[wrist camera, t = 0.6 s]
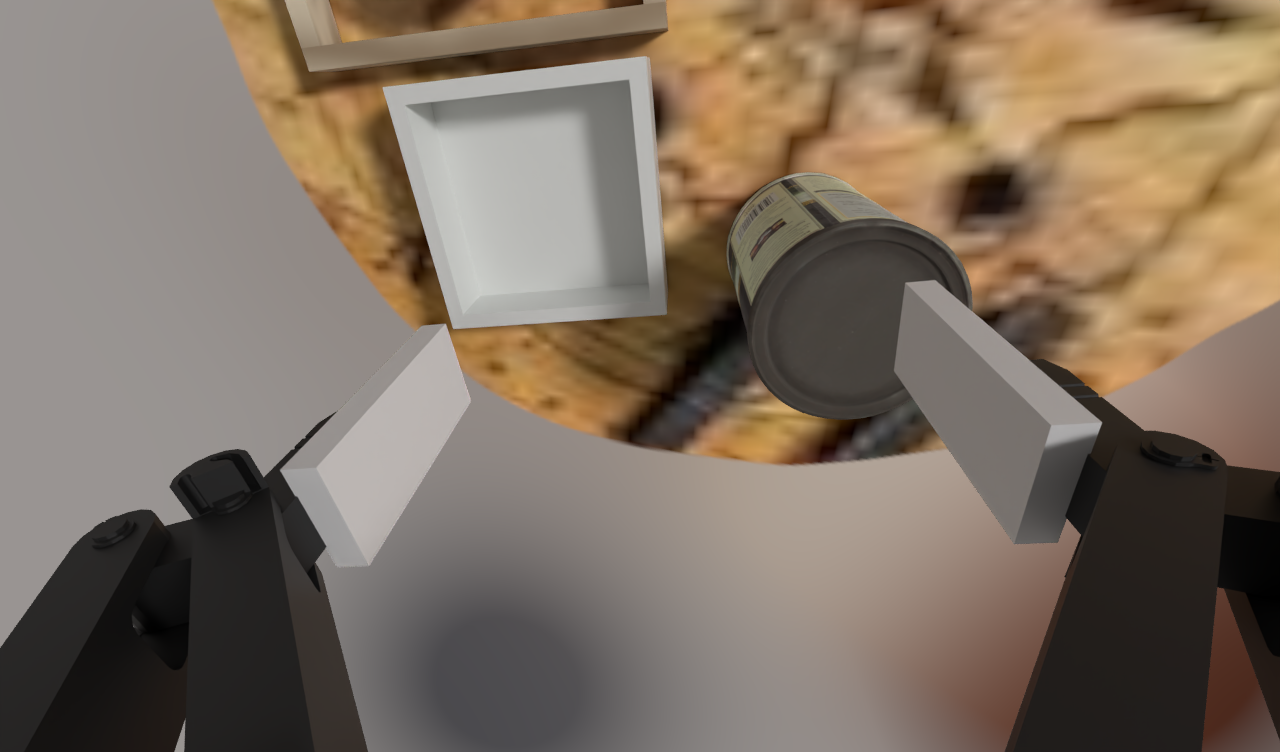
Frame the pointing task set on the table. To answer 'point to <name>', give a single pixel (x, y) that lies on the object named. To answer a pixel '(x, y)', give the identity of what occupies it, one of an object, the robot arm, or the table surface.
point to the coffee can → (830, 292)
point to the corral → (461, 35)
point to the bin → (538, 191)
